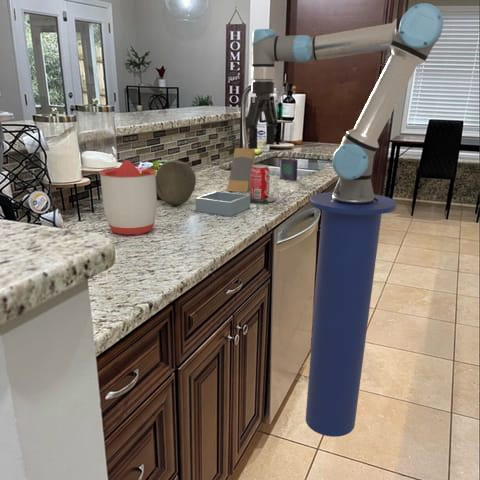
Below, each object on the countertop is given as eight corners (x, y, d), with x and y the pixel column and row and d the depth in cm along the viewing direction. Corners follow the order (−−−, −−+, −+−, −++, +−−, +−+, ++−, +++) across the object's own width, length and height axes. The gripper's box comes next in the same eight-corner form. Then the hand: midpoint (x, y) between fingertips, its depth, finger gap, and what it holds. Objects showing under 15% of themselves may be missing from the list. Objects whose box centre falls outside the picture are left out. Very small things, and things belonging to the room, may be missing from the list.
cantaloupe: (196, 209, 171) (195, 164, 165) (154, 209, 170) (151, 164, 164) (196, 200, 184) (195, 158, 178) (157, 200, 183) (155, 158, 177)
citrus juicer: (169, 224, 153) (166, 156, 145) (146, 239, 137) (142, 165, 129) (121, 220, 156) (116, 154, 148) (94, 235, 140) (86, 162, 133)
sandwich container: (226, 191, 200) (226, 152, 194) (234, 184, 214) (234, 147, 208) (247, 192, 199) (247, 153, 193) (254, 185, 212) (254, 148, 206)
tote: (249, 208, 174) (250, 195, 172) (230, 216, 163) (230, 202, 161) (216, 203, 180) (216, 190, 178) (195, 211, 169) (195, 197, 167)
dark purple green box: (278, 178, 229) (279, 154, 224) (282, 177, 231) (283, 153, 226) (294, 181, 223) (296, 156, 219) (298, 180, 225) (300, 155, 221)
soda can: (266, 196, 189) (267, 164, 184) (270, 200, 183) (272, 167, 178) (248, 197, 188) (248, 164, 183) (251, 201, 182) (252, 167, 177)
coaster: (279, 199, 188) (279, 198, 188) (266, 204, 179) (266, 203, 179) (253, 195, 192) (253, 194, 192) (239, 201, 184) (239, 200, 183)
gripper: (268, 81, 181) (267, 142, 190) (235, 80, 161) (235, 149, 169) (287, 81, 178) (285, 143, 186) (256, 80, 158) (255, 150, 166)
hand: (261, 146), depth 178 cm, fingers open, 13 cm apart
